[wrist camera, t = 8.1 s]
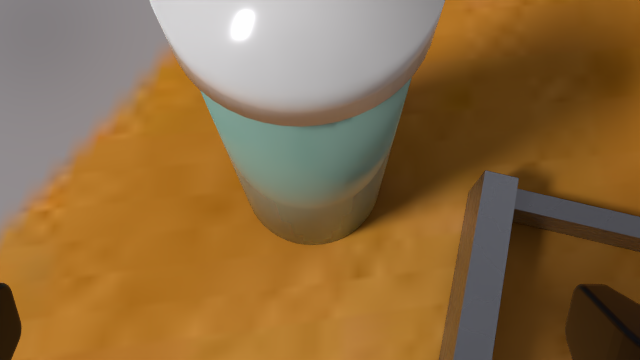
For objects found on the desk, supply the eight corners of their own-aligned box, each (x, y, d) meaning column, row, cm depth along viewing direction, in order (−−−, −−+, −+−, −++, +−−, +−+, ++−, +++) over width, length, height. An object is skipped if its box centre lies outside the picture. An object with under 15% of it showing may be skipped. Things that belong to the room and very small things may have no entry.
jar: (366, 265, 22) (419, 123, 10) (222, 229, 22) (96, 50, 10) (397, 131, 24) (474, -134, 11) (263, 101, 24) (199, -184, 12)
